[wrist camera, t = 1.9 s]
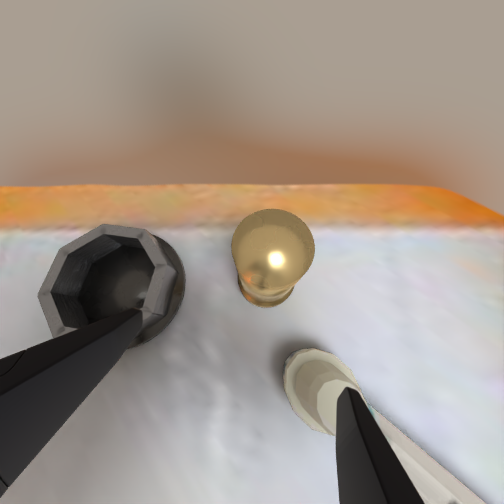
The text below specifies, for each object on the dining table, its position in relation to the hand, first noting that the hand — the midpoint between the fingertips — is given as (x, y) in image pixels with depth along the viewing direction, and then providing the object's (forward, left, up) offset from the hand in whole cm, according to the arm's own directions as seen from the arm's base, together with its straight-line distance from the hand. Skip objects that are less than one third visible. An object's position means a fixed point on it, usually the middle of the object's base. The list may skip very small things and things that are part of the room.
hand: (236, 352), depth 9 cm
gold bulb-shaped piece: (+5, +3, -12) cm, 13 cm away
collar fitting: (-7, +11, -12) cm, 18 cm away
